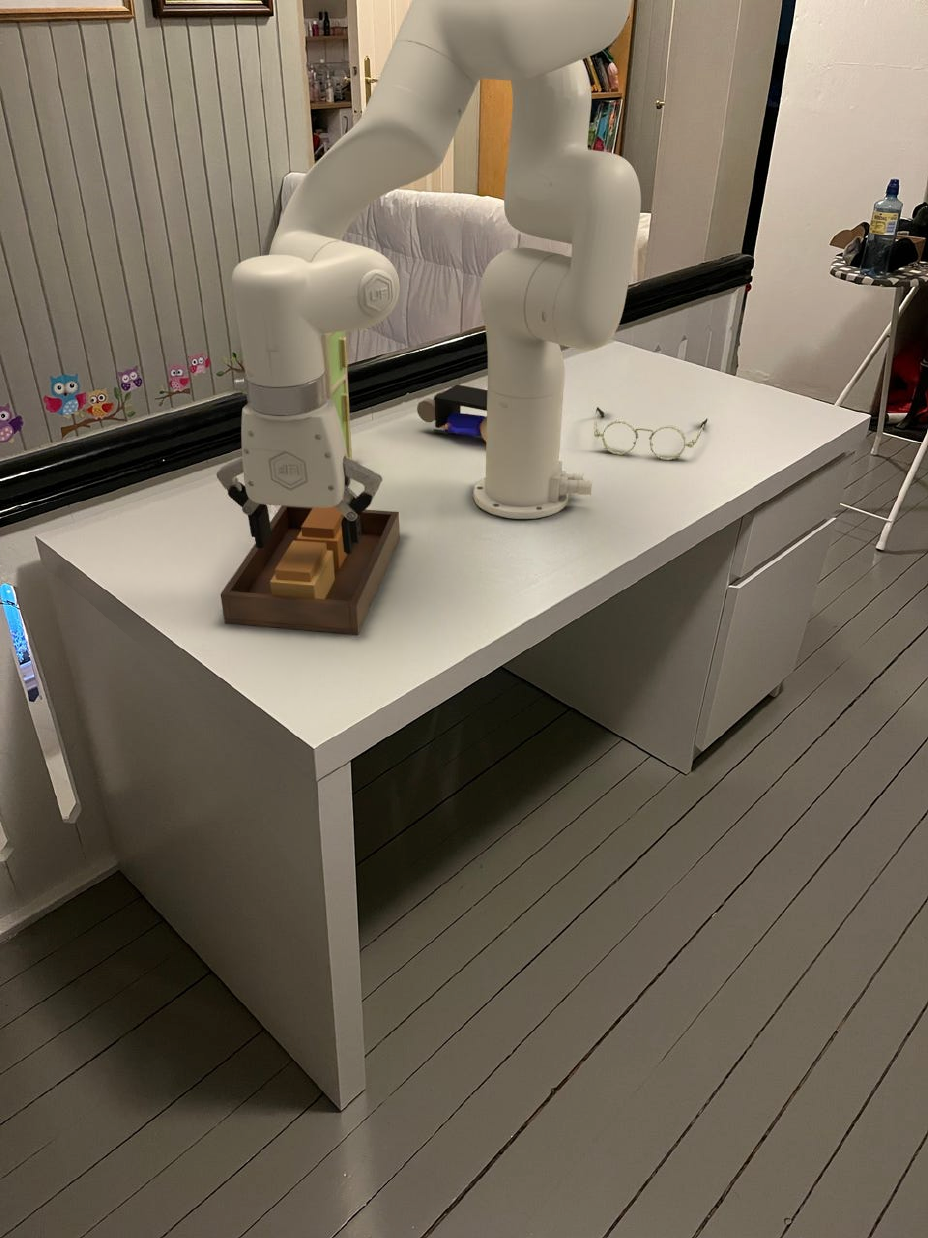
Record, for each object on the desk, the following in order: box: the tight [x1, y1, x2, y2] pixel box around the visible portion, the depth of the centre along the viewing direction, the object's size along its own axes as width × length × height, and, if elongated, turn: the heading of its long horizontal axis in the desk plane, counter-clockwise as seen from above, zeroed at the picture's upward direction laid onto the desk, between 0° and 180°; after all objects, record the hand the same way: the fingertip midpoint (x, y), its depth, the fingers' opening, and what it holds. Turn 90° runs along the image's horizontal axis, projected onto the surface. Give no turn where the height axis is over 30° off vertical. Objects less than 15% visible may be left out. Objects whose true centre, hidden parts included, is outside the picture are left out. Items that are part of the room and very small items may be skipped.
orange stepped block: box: [297, 506, 347, 570], centre depth 111 cm, size 5×8×5 cm, turn 172°
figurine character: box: [416, 384, 488, 442], centre depth 142 cm, size 7×8×15 cm
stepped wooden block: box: [270, 541, 335, 599], centre depth 103 cm, size 5×8×5 cm, turn 172°
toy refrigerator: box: [321, 331, 353, 461], centre depth 127 cm, size 8×7×21 cm
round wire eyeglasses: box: [593, 406, 708, 461], centre depth 142 cm, size 17×15×5 cm
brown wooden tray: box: [219, 506, 401, 635], centre depth 108 cm, size 15×22×4 cm
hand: (307, 544), depth 101 cm, fingers open, 9 cm apart
